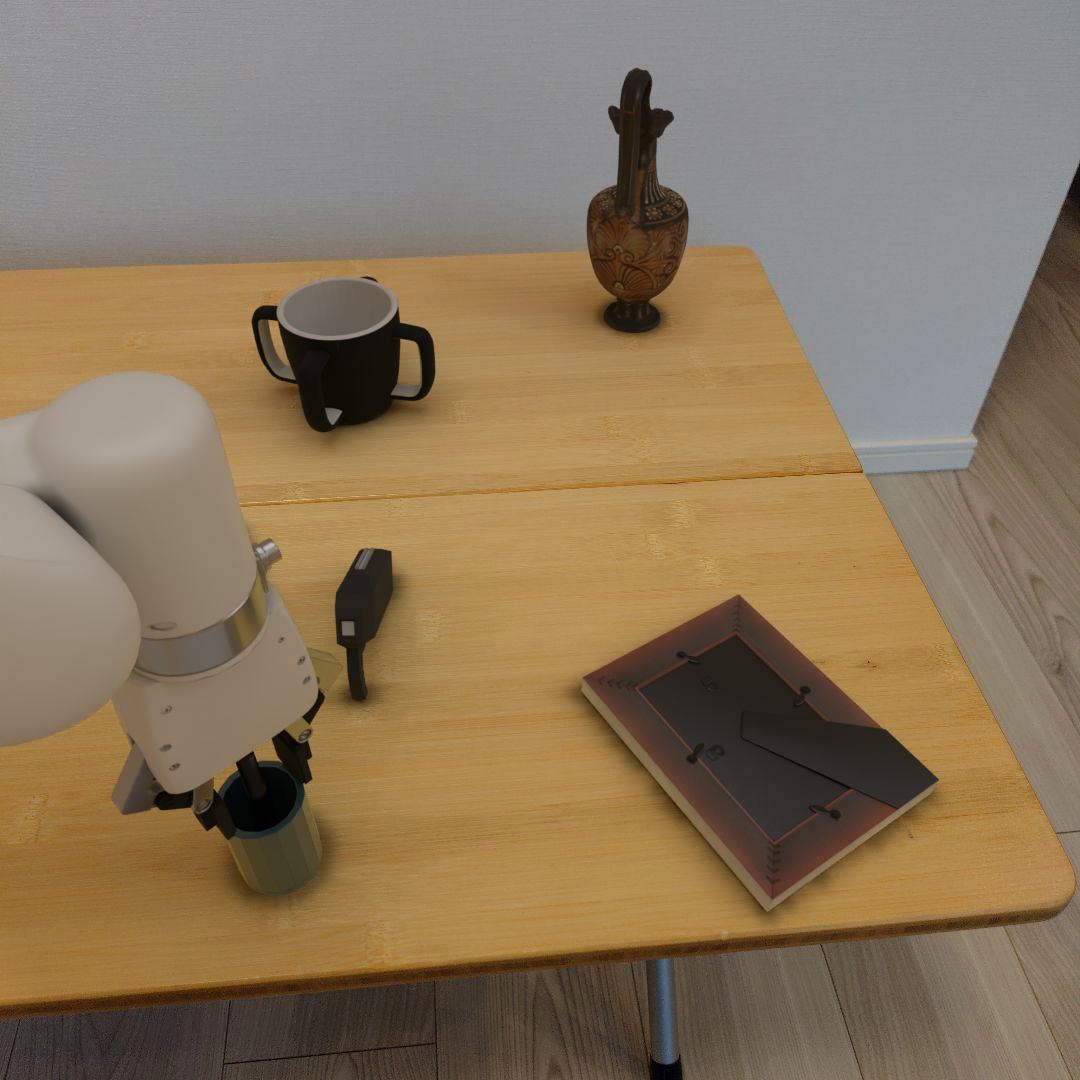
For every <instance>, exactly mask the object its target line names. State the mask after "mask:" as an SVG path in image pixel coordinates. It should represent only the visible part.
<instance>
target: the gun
mask: <svg viewBox="0 0 1080 1080" xmlns="http://www.w3.org/2000/svg"><path fill="white" fill-rule="evenodd" d="M392 553H393V551H392V550H389V549H384V548H375V547H370V548H369V547H364V548H361V549H360V550H358V552H357V554H356V555H355V557H354V559H353V561H352V563H351V565H350V567H348V571H347V572H346V574H345V576H344V577H343V579H342V581H341V583H340V585H339V587H338V588H337V590H336V592H335V600H334V619H335V636H336V637H335V638H336V645H338V646H341V647H342V648H344V649H345V652H346V653H345V654H346V671H347V680H348V687H349V693H350V695H351V699H352V700H366V699H367V696H368V692H369V691H368V687H367V684H366V678H365V670H364V652H365V649H366V645H367V643H369V642H370V641H371V640H373V639H375V638H376V636H377V634H378V631H379V628H380V625H381V623H382V620H383V618H384V615H385V613H386V611H387V607H388V605H389V603H390V600H391V597H392V595H393V593H394V578H393V576H394V575H393V554H392Z"/></svg>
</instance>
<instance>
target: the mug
mask: <svg viewBox="0 0 1080 1080" xmlns="http://www.w3.org/2000/svg"><path fill="white" fill-rule="evenodd" d="M251 317H252V318H251V321H250V322H251V328H252V333H253V336H254V337H253V338H254V341H255V345H256V349H257V352H258V357H259V359H260V361H261V362H262V364H263V366H264V367H265V369H266V371H268V373H269V374H270V375H271V376H272V377H273V378H275V379H276V380H278V381H280V382H285V383H289V384H295V385H297V387H298V388H297V389H298V394H299V399H300V402H301V407H302V411H303V415H304V419H305V421H306V423H307V424H308V426H309V427H310V428H311V429H312V430H313V431H316V432H318V433H323V434H324V433H330V432H333V431H334V430H335V429H336V428H337V427H338V425H339V424H340V425H353V424H354V425H355V424H361V423H365V422H369V421H371V420H373V419H376V418H377V417H379V416H381V415H383V414H384V413H385V412H386V411H387V410H388V409H389V408H390V407H391V405H392V404H393V401H394V400H395V401H407V402H418V401H421V400H423V399H424V398H425V397H426V396H428V394H429V393H430V392H431V390H432V387H433V385H434V382H435V379H436V351H435V342H434V339H433V337H432V335H431V332H429V331H428V329H426V328H425V327H422V326H419V325H414V324H409V323H405V322H401V316H400V307H399V301H398V298H397V296H396V295H395V293H394V292H393V291H392V289H390V288H389V287H387V286H386V285H384V284H382V283H380V282H379V281H378V280H377V279H376V278H375V277H372V276H367V275H366V276H365V275H364V276H361V277H357V276H331V277H325V278H320V279H317V280H312V281H310V282H307V283H304V284H301V285H299V286H297V287H296V288H293V289H292V290H291V291H290V292H288V293H287V294H286V295H284V297H283V298H282V299H281V300H280V301H279V303H278V305H274V304H273V305H270V304H266V305H265V304H264V305H260V306H258V307H256V309H255V310H254V312H253V314H252V316H251ZM269 321H274V322H277V325H278V330H279V335H280V338H281V342H282V345H283V348H284V352H285V355H286V358H287V360H288V364H289V365H287V364H286V363H285V362H283V360H282V359H281V357H279V355H278V353H277V351H276V348H275V345H274V341H273V336H272V333H271V328H270V322H269ZM402 340H405V341H410V342H413V343H415V345H417V350H418V356H419V357H418V358H419V371H420V373H419V374H420V376H419V377H420V378H419V383H418V384H407V383H399V374H400V365H401V364H400V361H401V347H402V346H401V345H402V343H401V341H402Z"/></svg>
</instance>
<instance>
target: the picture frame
mask: <svg viewBox="0 0 1080 1080" xmlns="http://www.w3.org/2000/svg"><path fill="white" fill-rule="evenodd" d="M581 692H582V694H583V695H584V696H585V697H586V699H587V700H588V702H590V703H591V705H592V706H593V707H594V708H595V709H596V710H597V711H598V713H599V714H600V715H601V716H602V718H603V719H604V720H605V721H606V722H607V724H608V725H609V726H610V728H612V730H613V731H614V732H615V733H616V734H617V736H618V737H619V738H620V739H621V740H622V742H623V743H624V744H625V745H626V746H627V747H628V748H629V750H630V751H631V752H632V753H633V755H634V756H635V757H636V758H637V759H638V760H639V761H640V763H641V764H642V765H643V766H644V768H645V769H646V770H647V771H648V773H649V774H650V775H651V776H652V777H653V778H654V780H655V781H656V782H657V783H658V784H659V785H660V786H661V788H662V789H663V790H664V791H665V793H666V794H667V795H668V796H669V798H670V799H671V800H672V801H673V802H674V803H675V805H676V806H677V807H678V808H679V810H681V812H682V813H683V814H684V815H685V816H686V818H687V819H688V820H689V822H691V824H692V825H693V826H694V827H695V828H696V830H697V831H698V832H699V833H700V834H701V835H702V837H703V838H704V840H706V842H707V843H708V844H709V845H710V846H711V847H712V849H713V850H714V851H715V852H716V853H717V855H718V856H719V857H720V858H721V859H722V860H723V862H724V863H725V864H726V865H727V867H729V869H730V870H731V871H732V872H733V873H734V875H735V876H736V877H737V879H738V880H740V882H741V883H742V884H743V886H744V887H745V888H746V889H747V891H749V893H750V894H751V895H752V896H753V897H754V898H755V900H756V901H757V902H758V904H760V906H761V907H762V908H763V909H764V910H765V912H766V913H768V912H770V911H771V910H772V909H773V908H775V907H776V906H777V905H779V904H780V903H782V902H783V901H785V900H786V899H787V898H789V897H790V896H792V895H793V894H795V893H796V892H797V891H798V890H800V889H801V888H803V887H805V886H806V885H807V884H808V883H809V882H811V881H812V880H814V879H815V878H817V877H818V876H819V875H820V874H822V873H823V872H825V871H826V870H827V869H829V868H830V867H832V866H833V865H835V864H836V863H837V862H839V861H840V860H841V859H843V858H844V857H845V856H847V855H849V853H851V852H852V851H854V850H855V849H856V848H858V847H859V846H860V845H862V844H863V843H865V842H866V841H867V840H870V839H871V838H872V837H873V836H875V835H877V833H879V832H880V831H881V830H883V829H884V828H886V827H887V826H889V825H890V824H891V823H892V822H894V821H895V820H897V819H898V818H899V817H901V816H902V815H904V814H905V813H907V812H908V811H909V810H910V809H912V808H913V807H914V806H916V805H917V804H919V803H920V802H921V801H923V800H924V799H925V798H927V797H928V796H930V795H931V794H932V793H933V791H934V789H935V787H936V786H937V785H938V782H939V780H940V778H938V777H937V776H936V775H935V774H934V773H933V771H931V770H930V769H929V768H928V767H927V766H925V765H924V764H923V763H922V762H921V761H920V760H919V759H918V758H917V757H916V756H915V755H914V754H913V753H912V752H910V750H909V749H907V748H906V747H905V746H904V745H903V743H901V742H900V741H899V740H898V739H897V738H896V737H895V736H894V735H893V734H892V733H890V732H889V730H887V729H886V728H883V727H882V726H881V725H880V723H879V724H878V722H877V721H876V720H875V719H873V717H871V716H870V715H869V714H868V712H866V711H865V710H864V709H863V708H861V706H859V704H857V703H856V702H855V701H854V700H853V699H852V698H851V697H850V696H849V695H847V694H846V692H844V691H843V690H842V689H841V688H840V687H839V686H838V685H837V684H836V683H835V682H834V681H833V680H832V679H831V678H829V677H828V675H826V674H825V673H824V672H823V671H822V670H821V669H820V668H819V667H817V666H816V665H815V663H813V662H812V661H811V660H810V659H809V658H808V657H807V656H806V655H804V653H803V652H802V651H800V650H799V648H797V647H796V646H795V645H794V644H793V643H792V642H791V641H790V640H789V639H788V638H786V637H785V635H784V634H782V633H781V632H780V631H779V630H778V629H777V628H776V627H774V625H772V623H770V621H768V619H766V618H765V617H764V616H763V615H762V614H761V613H760V612H758V610H756V609H755V608H754V607H753V606H752V605H751V604H750V603H749V602H748V601H747V600H746V599H745V598H744V597H743V596H741V594H736V595H735V596H733V597H731V598H729V599H727V600H725V601H723V602H721V603H719V604H718V605H716V606H714V607H712V608H710V609H708V610H706V611H704V612H703V613H701V614H699V615H697V616H695V617H693V618H691V619H689V620H687V621H686V622H684V623H682V624H680V625H678V626H677V627H674V628H672V629H671V630H668V631H666V632H665V633H663V634H661V635H660V636H657V637H656V638H654V639H652V640H650V641H648V642H646V643H644V644H643V645H640V646H639V647H637V648H635V649H633V650H631V651H629V652H627V653H625V654H624V655H622V656H620V657H618V658H616V659H614V660H613V661H611V662H608V663H607V664H605V665H603V666H601V667H599V668H597V669H595V670H594V671H592V672H590V673H588V674H586V675H584V676H582V677H581Z"/></svg>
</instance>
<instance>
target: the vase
mask: <svg viewBox="0 0 1080 1080" xmlns="http://www.w3.org/2000/svg"><path fill="white" fill-rule="evenodd" d="M652 89H653V77H652V75H651V73H650V71H648V70H647V69H642V68H640V67H639V68H638V67H634V68H632V69H631V70H630V71H628V72H627V74H626V75H625V77H624V79H623V84H622V87H621V91H620V99H619V107H618V106H616V105H613V104H611V105H609V106H608V108H607V114H608V117H609V120H610V121H611V123H612V126H613V130H614V132H615V133H616V135H618V161H617V175H616V176H617V177H616V184H614V185H611V186H609V187H606V188H603V189H602V190H600V191H599V192H597V193H596V194H595V195H594V196H593V198H592V199H591V200H590V202H589V204H588V207H587V214H586V242H587V250H588V256H589V260H590V264H591V267H592V269H593V272H594V275H595V277H596V280H597V281H598V283H599V284H600V285H601V286H602V288H603V289H604V290H605V291H607V292H608V293H609V294H610V295H612V296H614V297H615V298H616V301H613V302H611V303H610V304H608V306H607V307H606V309H605V310H604V312H603V314H602V315H603V319H604V321H605V322H606V324H608V325H609V327H611V328H613V329H616V330H617V331H620V332H624V333H644V332H649V331H651V330H653V329H654V328H656V327H658V326H659V324H660V323H661V319H662V317H661V313H660V311H659V309H658V308H657V307H655V306H654V305H652V304H651V303H650V302H651V300H652V299H654V298H655V297H657V296H658V295H660V294H662V293H663V292H664V291H665V290H666V289H667V288H668V287H669V286H670V285H671V283H672V282H673V281H674V279H675V277H676V275H677V273H678V271H679V268H680V265H681V263H682V260H683V258H684V257H683V256H684V253H685V250H686V246H687V243H688V242H687V240H688V234H689V223H690V222H689V221H690V216H689V208H688V205H687V202H686V200H685V199H684V198H683V196H682V195H680V194H679V193H678V192H677V191H675V190H673V189H672V188H669V187H668V186H665V185H663V184H660V183H659V178H658V168H657V150H658V139H661V137H662V136H663V134H664V132H665V130H666V128H668V126H669V125H670V124H671V123H672V122H674V120H675V115H674V113H673V112H672V111H671V110H668V109H665V110H664V109H663V108H659V107H654V108H651V107H652V106H651V94H652V93H651V92H652Z"/></svg>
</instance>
